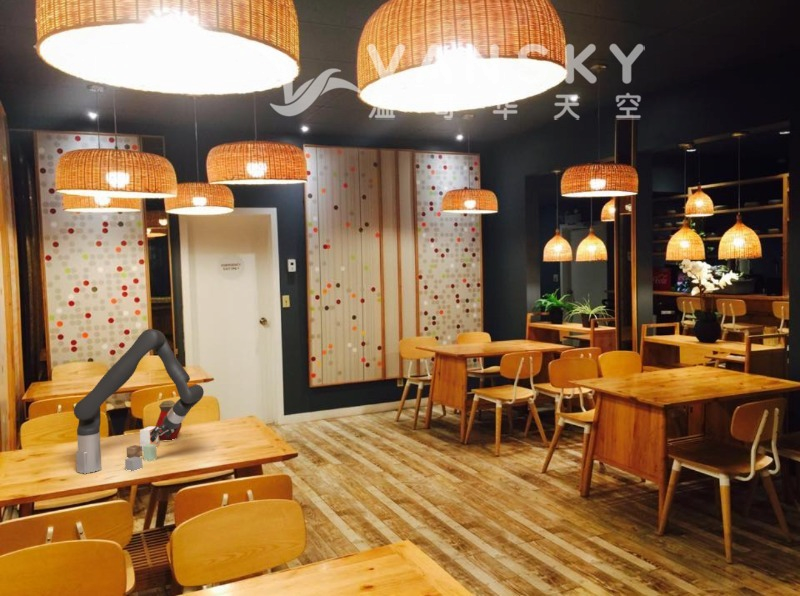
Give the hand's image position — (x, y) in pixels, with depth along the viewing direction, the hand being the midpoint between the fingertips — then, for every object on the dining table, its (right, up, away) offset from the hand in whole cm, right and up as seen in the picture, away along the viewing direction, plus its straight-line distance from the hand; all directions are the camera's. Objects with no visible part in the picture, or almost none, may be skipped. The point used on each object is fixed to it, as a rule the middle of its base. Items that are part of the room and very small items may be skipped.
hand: (159, 438), depth 299 cm
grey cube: (-8, -12, -10) cm, 17 cm away
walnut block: (-15, -11, +9) cm, 21 cm away
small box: (-14, -11, +23) cm, 29 cm away
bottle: (-10, -9, +41) cm, 43 cm away
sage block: (-6, -11, +4) cm, 13 cm away
